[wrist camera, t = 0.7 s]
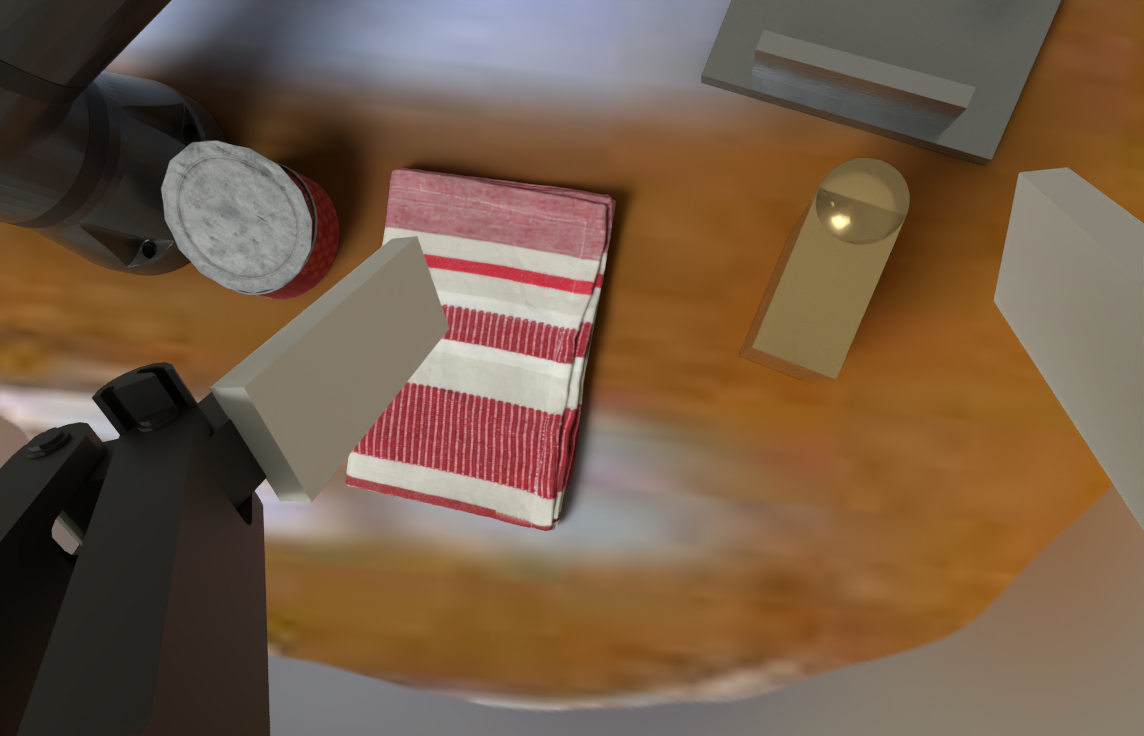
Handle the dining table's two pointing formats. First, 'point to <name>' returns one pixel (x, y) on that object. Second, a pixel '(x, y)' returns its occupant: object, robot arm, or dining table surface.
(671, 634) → the dining table surface
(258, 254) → the canned food
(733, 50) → the steel base leaf
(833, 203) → the tan block
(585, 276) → the dish towel
